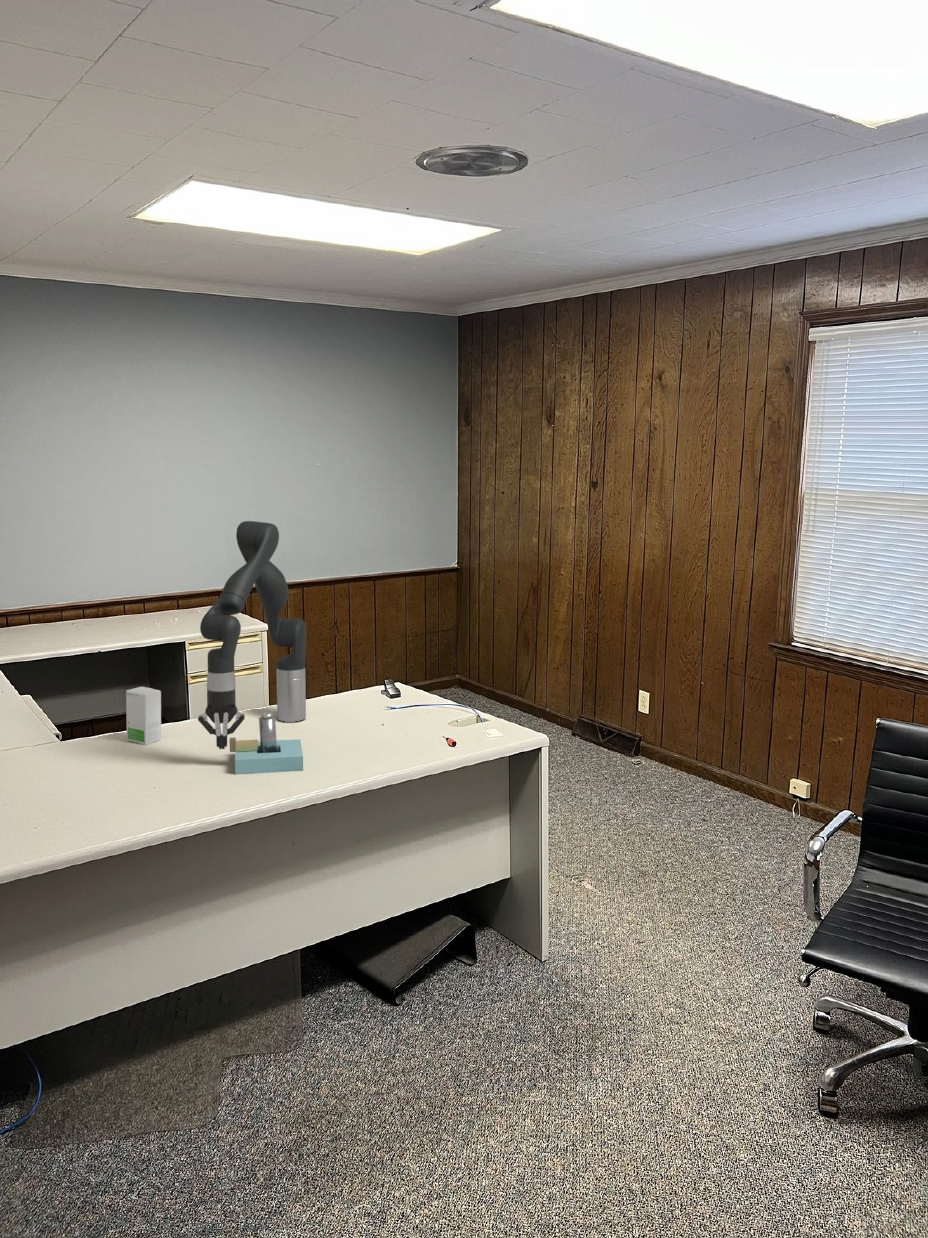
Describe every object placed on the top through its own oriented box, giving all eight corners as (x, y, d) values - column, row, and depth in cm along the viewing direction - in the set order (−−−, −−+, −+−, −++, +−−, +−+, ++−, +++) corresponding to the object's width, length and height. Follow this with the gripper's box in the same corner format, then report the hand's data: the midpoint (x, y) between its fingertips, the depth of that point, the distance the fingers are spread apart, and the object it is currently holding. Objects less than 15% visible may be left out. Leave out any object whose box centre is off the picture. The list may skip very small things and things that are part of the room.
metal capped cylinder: (262, 757, 255) (259, 711, 253) (278, 756, 256) (275, 711, 253) (260, 762, 251) (257, 716, 248) (277, 761, 251) (274, 715, 249)
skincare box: (126, 741, 271) (123, 690, 268) (143, 735, 277) (141, 685, 274) (146, 745, 267) (144, 694, 265) (163, 739, 273) (161, 689, 270)
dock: (236, 755, 259) (236, 742, 258) (300, 752, 263) (300, 739, 262) (235, 774, 243) (235, 760, 243) (303, 770, 248) (303, 756, 247)
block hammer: (230, 748, 252) (229, 737, 251) (258, 747, 253) (257, 736, 253) (229, 752, 249) (229, 741, 248) (258, 750, 250) (257, 739, 250)
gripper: (246, 683, 252) (246, 743, 255) (196, 684, 249) (197, 745, 252) (246, 689, 245) (246, 751, 248) (195, 690, 242) (196, 753, 245)
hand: (221, 748), depth 250 cm, fingers closed
